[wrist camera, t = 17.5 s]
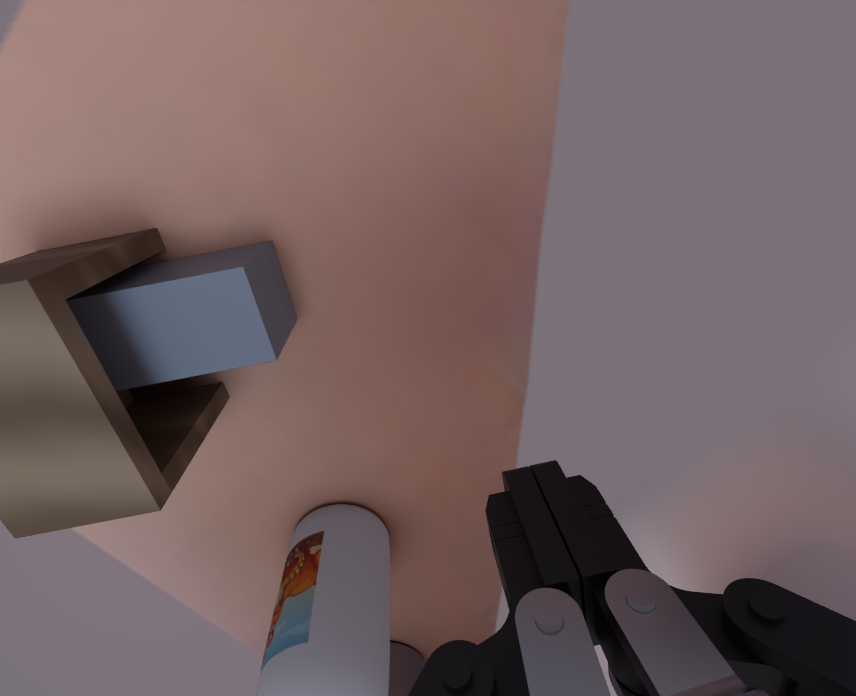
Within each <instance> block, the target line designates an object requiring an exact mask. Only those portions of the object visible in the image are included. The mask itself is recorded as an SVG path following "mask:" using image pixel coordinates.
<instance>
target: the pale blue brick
mask: <svg viewBox="0 0 856 696" xmlns="http://www.w3.org/2000/svg"><path fill="white" fill-rule="evenodd" d="M66 302H67V304H68V306H69V307H70V309H71V311H72V313H73V315H74V316H75V318H76V320H77V322H78V324H79V325H80V327H81V329H82V331H83V333H84V335H85V336H86V338H87V340H88V342H89V344H90V345H91V347H92V349H93V351H94V353H95V354H96V356H97V358H98V360H99V362H100V363H101V365H102V367H103V369H104V371H105V373H106V374H107V376H108V378H109V380H110V382H111V383H112V385H113V387H114V389H115V391H119V390H125V389H130V388H135V387H140V386H145V385H151V384H156V383H161V382H166V381H172V380H177V379H182V378H187V377H193V376H198V375H203V374H208V373H214V372H219V371H224V370H229V369H234V368H240V367H245V366H250V365H255V364H261V363H266V362H271V361H276V360H277V359H278V357H279V355H280V353H281V351H282V349H283V347H284V345H285V343H286V341H287V339H288V337H289V335H290V333H291V331H292V329H293V327H294V325H295V323H296V321H297V316H296V313H295V310H294V307H293V304H292V300H291V297H290V294H289V291H288V288H287V285H286V282H285V279H284V276H283V273H282V269H281V266H280V263H279V260H278V257H277V254H276V251H275V248H274V245H273V241H268V242H262V243H257V244H252V245H247V246H242V247H236V248H231V249H226V250H221V251H216V252H210V253H205V254H200V255H195V256H190V257H184V258H179V259H174V260H169V261H164V262H159V263H153V264H148V265H143V266H138V267H133V268H127V269H125V270H123V271H121V272H119V273H117V274H115V275H113V276H111V277H109V278H107V279H105V280H103V281H102V282H100V283H98V284H96V285H94V286H92V287H90V288H88V289H86V290H84V291H82V292H80V293H78V294H76V295H74V296H72V297H70V298H68V299H66Z"/></svg>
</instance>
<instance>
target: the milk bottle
mask: <svg viewBox="0 0 856 696" xmlns="http://www.w3.org/2000/svg"><path fill="white" fill-rule="evenodd" d="M389 665H390V540H389V534H388V531H387V529H386V527H385V526H384V524H383V522H382V521H381V520H380V519H379V518H378V517H377V516H376V515H375V514H373V513H372V512H370V511H368V510H366V509H365V508H362V507H358V506H355V505H348V504H335V505H328V506H325V507H322V508H319V509H317V510H315V511H313V512H311V513H310V514H308V515H307V516H306V517H304V519H303V520H302V521H301V522H300V523H299V524H298V526H297V527H296V529H295V531H294V533H293V537H292V540H291V544H290V547H289V551H288V555H287V559H286V563H285V568H284V572H283V576H282V580H281V584H280V588H279V592H278V597H277V601H276V605H275V609H274V613H273V618H272V622H271V626H270V631H269V635H268V639H267V644H266V648H265V652H264V657H263V662H262V667H261V672H260V677H259V682H258V687H257V695H256V696H388V690H389Z"/></svg>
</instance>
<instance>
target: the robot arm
mask: <svg viewBox="0 0 856 696" xmlns="http://www.w3.org/2000/svg"><path fill="white" fill-rule="evenodd" d="M502 476H503V483H504V489H505V492H501V493H496V494H491V495H489V497H488V502H487V506H486V516H487V521H488V527H489V532H490V537H491V542H492V548H493V552H494V556H495V559H496V563H497V567H498V570H499V574H500V578H501V581H502V585H503V589H504V592H505V596H506V600H507V603H508V607H509V615H508V617H507V620H506V622H505V623H504V625H503V626H502V628H501V629H500V630H499V631H498V632H497V633H495V634H494V635H493V636H491V637H490V638H488V639H487V640H485V641H483V642H482V643H480V644H479V645H476V644H474V643H471V642H469V641H464V640H455V641H450V642H448V643H445V644H443V645H441V646H440V647H439V648H437V649H436V650H435V651H434V652H433V653H432V654H431V656H430V657H429V659H428V660H427V662H426V664H425V661H424V659H423V658H422V656H421V655H420V654H419V653H418V652H416V651H415V650H413V649H412V648H410V647H408V646H405V645H402V644H398V643H392V642H390V665H389V690H388V696H611V695H610V692H609V690H608V686H607V684H606V681H605V678H604V675H603V672H602V669H601V666H600V663H599V661H598V657H597V654H596V651H595V649H594V646H595V645H601V647H602V650H603V652H604V654H605V656H606V659H607V661H608V670H609V677H610V681H611V683H612V686H613V687H614V690H615V691H616V694H617V696H856V621H854V620H852V619H850V618H848V617H845V616H843V615H841V614H839V613H837V612H834V611H832V610H830V609H828V608H826V607H824V606H821V605H819V604H817V603H815V602H813V601H811V600H808V599H806V598H804V597H802V596H800V595H797V594H795V593H793V592H791V591H789V590H787V589H784V588H782V587H780V586H778V585H775V584H773V583H770V582H768V581H764V580H760V579H753V578H744V579H739V580H735V581H734V582H732V583H730V584H729V585H728V586H727V587H726V589H725V591H724V594H712V593H701V592H691V591H685V590H681V589H678V588H675V587H672V586H670V585H668V584H667V583H666V582H665V581H664V580H662V579H661V578H659V577H658V576H657V575H655V574H653V573H651V572H650V571H649V570H648V568H647V567H646V566H645V564H644V563H643V561H642V559H641V558H640V557H639V555H638V553H637V551H636V550H635V548H634V547H633V545H632V543H631V542H630V540H629V539H628V537H627V535H626V534H625V532H624V531H623V529H622V527H621V526H620V524H619V523H618V521H617V519H616V518H614V516H613V513H612V511H611V510H610V509H609V507H608V505H606V503H605V500H604V499H603V497H602V495H601V494H600V492H599V491H598V489H597V487H596V486H595V485H593V484H592V483H591V482H589V481H588V480H586V479H585V478H584V477H582V476H581V475H577V476H573V477H568V478H566V477H565V475H564V473H563V471H562V469H561V467H560V466H559V464H558V462H557V461H556V460H554V461H549V462H545V463H540V464H535V465H531V466H529V467H528V466H527V467H522V468H518V469H513V470H509V471H504V472H502Z"/></svg>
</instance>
